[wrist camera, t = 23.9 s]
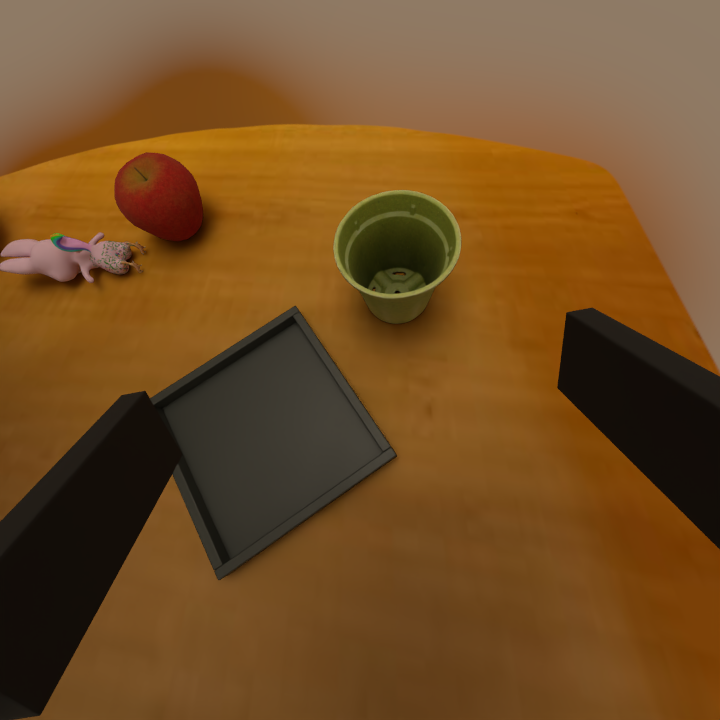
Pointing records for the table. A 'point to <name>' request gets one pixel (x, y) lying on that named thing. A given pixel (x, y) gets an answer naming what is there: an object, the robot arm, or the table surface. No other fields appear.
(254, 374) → the drip tray
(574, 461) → the table surface
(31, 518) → the robot arm
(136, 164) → the apple
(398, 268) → the plant pot
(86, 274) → the pink toy figurine
